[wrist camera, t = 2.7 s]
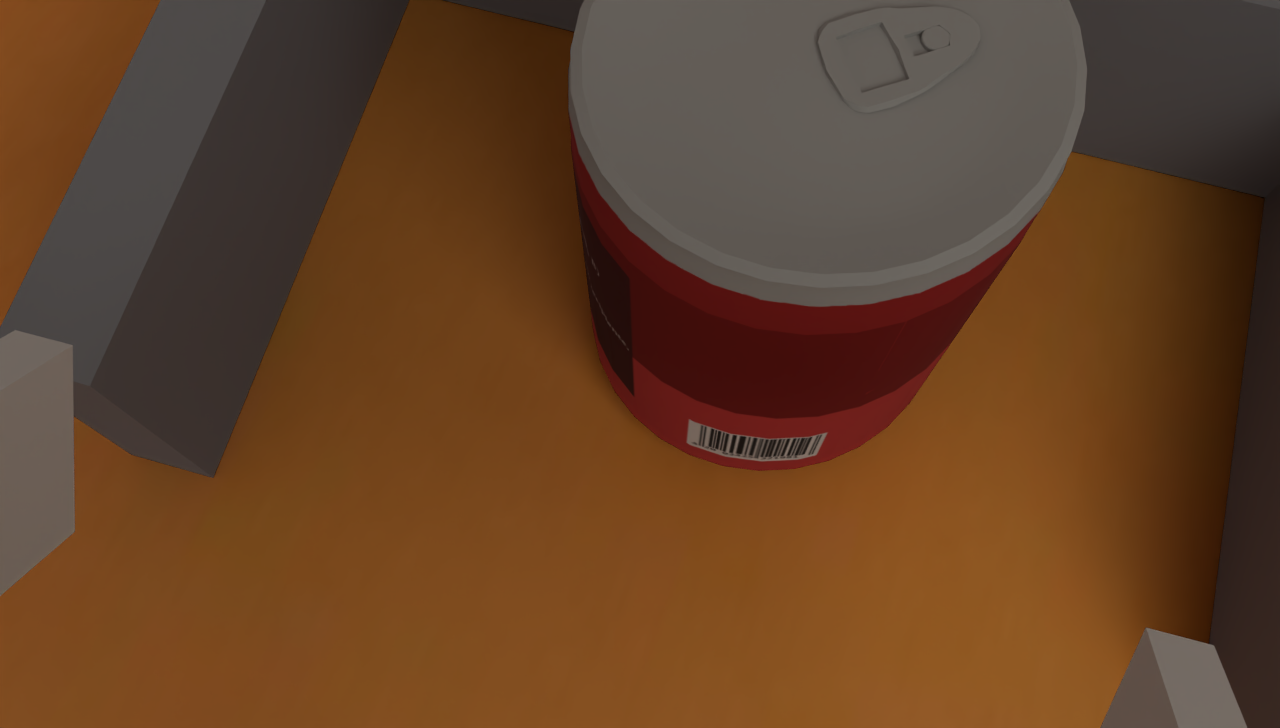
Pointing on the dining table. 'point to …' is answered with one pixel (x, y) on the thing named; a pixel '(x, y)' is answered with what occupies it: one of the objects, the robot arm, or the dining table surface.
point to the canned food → (805, 201)
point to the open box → (375, 3)
